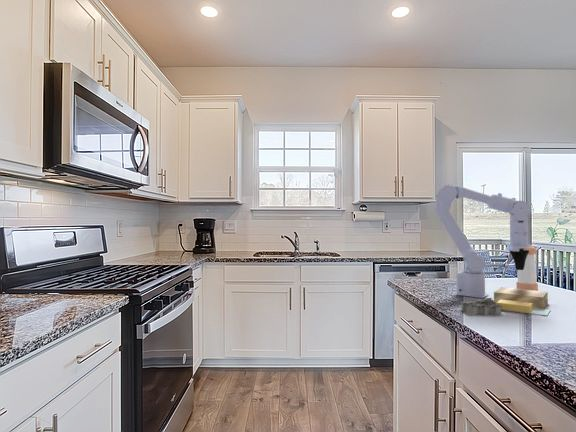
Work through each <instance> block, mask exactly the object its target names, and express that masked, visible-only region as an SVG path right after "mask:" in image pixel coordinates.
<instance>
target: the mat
mask: <svg viewBox="0 0 576 432" xmlns="http://www.w3.org/2000/svg"><path fill="white" fill-rule="evenodd" d="M496 305H497V303H496ZM501 311H507V312H514V313H522V314H529V315H536V316H541V317H542V316H543V317H548V316H549V314H550V313H551V309H547V308H544V309H539V308H533V310H532V311H531V312H530V313H525V312H518V311H510V310H503V309H501Z"/></svg>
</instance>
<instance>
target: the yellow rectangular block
mask: <svg viewBox="0 0 576 432" xmlns="http://www.w3.org/2000/svg"><path fill="white" fill-rule="evenodd" d="M497 304H499V305H501V306H503V307H501V309H503V310H502V311H505V310H510V311H509V312H512V311H518V312H517V313H520V312H525V313H524V314H527V313H530V312H531V311H532V310H533V303H527V302H518V301H510V300H501V299H500V300H499V301H498V302H497Z"/></svg>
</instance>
